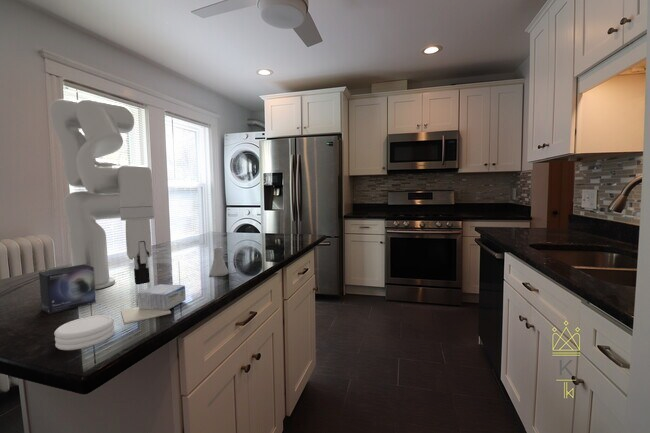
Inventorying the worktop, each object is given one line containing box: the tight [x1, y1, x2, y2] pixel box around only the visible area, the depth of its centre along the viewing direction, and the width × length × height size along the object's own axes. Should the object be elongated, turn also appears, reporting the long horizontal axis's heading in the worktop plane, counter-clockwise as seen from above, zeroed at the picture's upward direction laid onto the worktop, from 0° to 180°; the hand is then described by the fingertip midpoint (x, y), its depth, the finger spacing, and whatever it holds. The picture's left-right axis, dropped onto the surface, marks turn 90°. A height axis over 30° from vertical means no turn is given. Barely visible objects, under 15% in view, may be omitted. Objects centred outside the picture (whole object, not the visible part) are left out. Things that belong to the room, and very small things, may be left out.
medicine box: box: [137, 283, 187, 310], centre depth 84 cm, size 8×4×9 cm
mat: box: [120, 306, 172, 325], centre depth 80 cm, size 10×10×1 cm
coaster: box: [53, 314, 116, 351], centre depth 66 cm, size 10×10×4 cm
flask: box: [208, 247, 230, 277], centre depth 116 cm, size 7×7×10 cm
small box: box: [38, 264, 97, 315], centre depth 85 cm, size 11×6×10 cm, turn 148°
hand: (142, 282), depth 82 cm, fingers closed
